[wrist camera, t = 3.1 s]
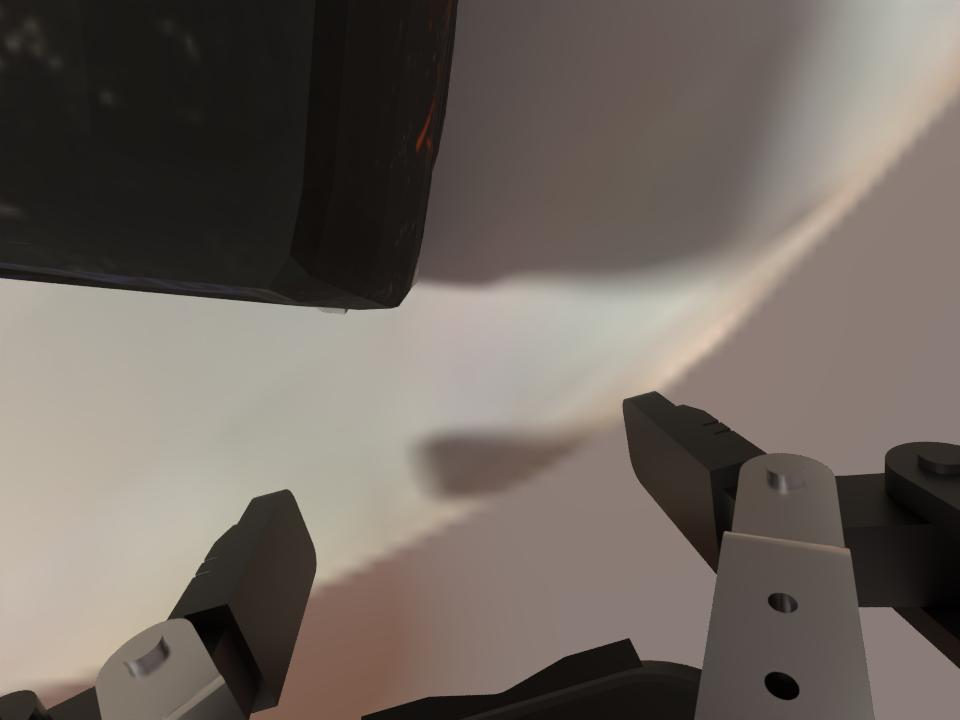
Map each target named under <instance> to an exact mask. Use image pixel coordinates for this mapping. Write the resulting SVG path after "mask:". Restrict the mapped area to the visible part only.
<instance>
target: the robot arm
mask: <svg viewBox="0 0 960 720" xmlns="http://www.w3.org/2000/svg"><path fill="white" fill-rule="evenodd" d="M623 414H624V421H625V427H626V433H627V440H628V446H629V453H630V458H631V463H632V466H633V469H634V471H635V474H636V476H637V478H638V480H639V481H640V483H641V484H642V486H644V488H645V489H646V490H647V492H648V493H649V494H650V495H651V496H652V497H653V499H654V500H655V501H656V502H657V504H658V505H659V506H660V507H661V508H662V509H663V511H664V512H665V513H666V514H667V516H668V517H669V518H670V519H671V520H672V522H673V523H674V524H675V525H676V526H677V528H678V529H679V530H680V531H681V532H682V533H683V535H684V536H685V537H686V538H687V540H688V541H689V542H690V543H691V544H692V546H693V547H694V548H695V549H696V550H697V552H698V553H699V554H700V555H701V556H702V558H703V559H704V560H705V561H706V562H707V564H708V565H709V566H710V567H711V568H712V569H713V571H714V572H715V573H716V574H717V577H716V583H715V591H714V596H713V603H712V609H711V616H710V622H709V629H708V635H707V641H706V648H705V654H704V660H703V666H702V670H701V669H698V668H695V667H691V666H688V665H683V664H678V663H673V662H665V661H652V660H649V661H648V660H647V661H646V660H644V661H640V659H639V657H638V655H637V653H636V651H635V649H634V647H633V645H632V643H631V641H630V639H629V638H628V639H625V640H621V641H618V642H614V643H611V644H608V645H604V646H601V647H597V648H594V649H590V650H587V651H584V652H580V653H577V654H574V655H570V656H566V657H564V658H562V659H561V660H559V661H557V662H555V663H554V664H552V665H550V666H548V667H547V668H545V669H543V670H541V671H540V672H538V673H536V674H535V675H533V676H531V677H529V678H528V679H526V680H524V681H523V682H521V683H519V684H517V685H515V686H514V687H512V688H510V689H508V690H507V691H505V692H502V693H499V694H493V695H465V696H439V697H427V698H423V699H420V700H416V701H413V702H409V703H406V704H403V705H399V706H396V707H392V708H389V709H386V710H382V711H379V712H375V713H372V714H368V715H365V716H362V718H361V720H875V715H874V708H873V701H872V694H871V688H870V681H869V674H868V667H867V660H866V654H865V647H864V641H863V634H862V627H861V620H860V613H859V607H892V608H893V609H894V610H895V611H896V612H898V614H899V615H901V616H902V617H903V618H904V619H905V620H906V621H907V622H909V624H911V625H912V626H913V627H914V628H915V629H916V630H917V631H918V632H919V633H921V634H922V635H923V636H924V637H925V638H926V639H927V640H928V641H930V642H931V643H932V644H933V645H934V646H935V647H936V648H937V649H938V650H940V651H941V652H942V653H943V654H944V655H945V656H946V657H947V658H948V659H949V660H951V661H952V662H953V663H954V664H955V665H956V666H957V667H958V668H960V446H959V445H953V444H948V443H939V442H913V443H906V444H902V445H899V446H896V447H894V448H892V449H891V450H889V451H888V452H887V454H886V456H885V473H880V474H866V475H850V476H834V474H833V472H832V471H831V470H830V469H829V468H828V467H827V466H825V465H824V464H822V463H821V462H819V461H816V460H814V459H811V458H808V457H804V456H801V455H795V454H786V453H784V454H783V453H777V454H776V453H774V454H767V453H765V452H764V451H762V450H761V449H759V448H758V447H756V446H755V445H754V444H752V443H750V442H749V441H747V440H746V439H745V438H743V437H742V436H740V435H739V434H737V433H736V432H734V431H731V430H730V428H729V427H727V426H725V425H724V424H723V423H721V422H720V423H719V422H718V420H717V419H715V418H714V417H712V416H711V415H710V414H708V413H707V412H705V411H703V410H700V409H697V408H693V407H690V406H686V405H680V406H675V405H674V404H673V403H671V402H670V401H669V400H667V399H666V398H665V397H663V396H662V395H660V394H659V393H658V392H656V391H653V392H649V393H646V394H642V395H638V396H634V397H631V398H627V399H624V401H623ZM204 561H205V563H202V564H201V566H200V567H199V569H198V571H197V572H196V574H195V575H196V577H194V578H193V579H192V580H191V582H190V583H189V585H188V587H187V588H186V590H185V592H184V593H183V595H182V596H181V598H180V600H179V601H178V603H177V604H176V606H175V608H174V609H173V611H172V612H171V614H170V616H169V617H168V619H167V621H164V622H161V623H158V624H156V625H154V626H152V627H149V628H147V629H146V630H144V631H142V632H141V633H139V634H137V635H136V636H134V637H133V638H131V639H130V640H129V641H127V642H126V643H125V644H124V645H122V646H121V647H120V648H119V649H118V650H117V651H116V652H115V653H114V654H113V655H112V656H111V657H110V658H109V659H108V660H107V662H106V663H105V664H104V665H103V667H102V668H101V670H100V672H99V674H98V676H97V678H96V682H95V686H94V687H92V688H90V689H88V690H86V691H84V692H82V693H80V694H78V695H76V696H74V697H72V698H70V699H68V700H66V701H64V702H62V703H60V704H58V705H56V706H54V707H52V708H50V709H48V710H46V709H45V707H44V706H43V704H42V703H41V701H40V700H39V698H38V697H37V695H36V694H35V693H34V692H32V691H29V690H23V691H17V692H13V693H10V694H7V695H5V696H2V697H0V720H249V718H250V715H251V713H255V712H258V711H262V710H265V709H269V708H272V707H276V706H277V705H278V702H279V698H280V695H281V692H282V688H283V685H284V681H285V678H286V674H287V671H288V667H289V664H290V660H291V657H292V654H293V650H294V647H295V643H296V640H297V636H298V632H299V629H300V625H301V622H302V619H303V615H304V612H305V607H306V604H307V601H308V598H309V594H310V591H311V587H312V584H313V580H314V577H315V573H316V553H315V549H314V545H313V542H312V540H311V537H310V535H309V532H308V530H307V527H306V525H305V522H304V520H303V517H302V515H301V512H300V510H299V507H298V505H297V502H296V500H295V498H294V496H293V494H292V493H291V491H289V490H288V489H285V490H281V491H278V492H274V493H270V494H266V495H263V496H259V497H255V498H253V499H252V500H251V502H250V503H249V505H248V507H247V509H246V510H245V512H244V514H243V515H242V517H241V519H240V521H239V522H238V524H237V525H233V526H232V527H231V528H230V529H229V530H228V531H227V532H226V533H225V534H224V535H222V536H221V537H220V538H219V539H218V540H217V541H216V542H215V543H214V545H213V546H212V548H211V550H210V551H209V553H208V554H207V556H206V558H205V559H204Z"/></svg>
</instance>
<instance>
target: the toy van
mask: <svg viewBox="0 0 960 720" xmlns="http://www.w3.org/2000/svg"><path fill="white" fill-rule="evenodd" d="M457 4H458V0H0V278H5V279H15V280H26V281H36V282H46V283H57V284H67V285H78V286H89V287H100V288H110V289H121V290H132V291H142V292H153V293H164V294H174V295H185V296H196V297H207V298H218V299H228V300H239V301H250V302H261V303H272V304H282V305H293V306H307V307H317V308H318V309H320V310H321V311H322V312H328V313H338V314H345V313H346V312H347V311H348V309H355V310H366V309H388V308H394V307H398V306H399V305H400V304H401V302H402V301H403V300H404V298H405V297H406V295H407V294H408V292H409V291H410V290H411V288H412V287H413V286H414V285H415V284H416V282H417V278H418V272H419V266H417V262H418V258H419V254H420V248H421V242H422V238H423V233H424V226H425V219H426V213H427V206H428V199H429V193H430V186H431V179H432V171H433V168H434V164H435V161H436V158H437V154H438V151H439V145H440V140H441V135H442V129H443V124H444V119H445V113H446V105H447V97H448V88H449V80H450V72H451V64H452V55H453V47H454V39H455V28H456V16H457Z"/></svg>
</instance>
